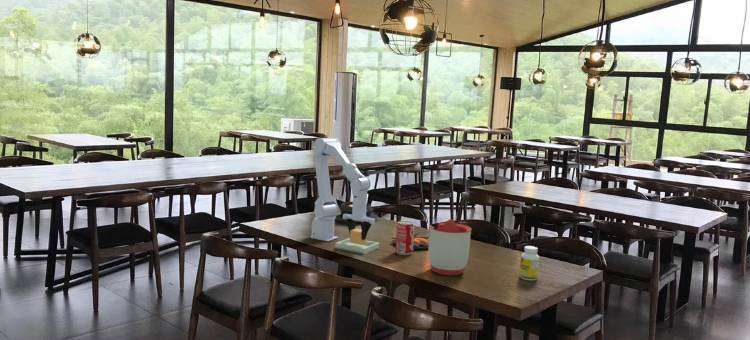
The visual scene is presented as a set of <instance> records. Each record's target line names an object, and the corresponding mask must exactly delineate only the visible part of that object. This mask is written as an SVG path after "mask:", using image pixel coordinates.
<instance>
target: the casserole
mask: <svg viewBox="0 0 750 340" xmlns="http://www.w3.org/2000/svg"><path fill="white" fill-rule="evenodd" d="M338 207H339V211H340V214H339V213H338V215H337V216H336V218H335V221H338V222H344V223H346V221H347V219H343V214H352V208H353V201H347V202H342V203H341V205H340V206H338ZM373 211H374V208H373V207H372V204H370V203H367V204H366V217H370V218H373V219H375V220H376V219H379V216H378V214H374V213H372V212H373ZM361 223H364V222H360V221H357V222H356V224H361Z"/></svg>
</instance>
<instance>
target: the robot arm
mask: <svg viewBox="0 0 750 340" xmlns="http://www.w3.org/2000/svg"><path fill="white" fill-rule="evenodd" d="M341 146H342V143H341V142H340V141H339V139H338V138H337V137H334V136H333V137H318V138H317V139H315V141H314V143H313V146H312V147H313V152H314V157H313V159H314V165H315V172H316V173H315V174H316V183H317V190H318V191H317V192H318V198H317V199H316V200H315V201H314V211H313V212H314V215H315V217H314V218H313V219H312V221H311V236H310V239H315V240H319V241H325V242H330V241H333V240H336V239H338V238H339V237H338V236H335V221H336V220H335V218H336V216H337V215H339V213H340V209H339V207H340V206H339V205H338V203H337V199H336V198H335V197H334V196H333V194H332V188H331V179H330V172H329V170H330V169H329V164H328V160H329V159H330V157H331V156H333V157H334V158H335V159H336V161H337V162H338V163H339V164H340V166H342V172H343V174H344V175H345V177H346V178H347V180H348V181H349V182H350V183H349V185H350V190H351V194H352V202H353V208H352V214H343V219H347V221H346V222H345V225H346V226H347V229H348V232H349V234H350V230H353V229H356V224H357V223H356V222H357V221H360V222H364V223H360V229H362V240H365V239H366V236H368V232H369V230H370V228H371V226H372V225H375V224H376V218H375V219H373V218H370V217H366V204H367V201H368V191H369V190H370V188H371V180H370V178H369V177H368V176H365V175H363V174H362V173H361V171H360V170H359V168H358V167H357V165H356V164H355V163H352V162H351V161H350V160H349V158H348V157H347V155H346V154H345V151H343V150H342V147H341Z"/></svg>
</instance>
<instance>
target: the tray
mask: <svg viewBox="0 0 750 340" xmlns="http://www.w3.org/2000/svg"><path fill="white" fill-rule="evenodd" d="M334 246H335V247H334V248H335V249H337V250H338V249H339V250H344V251H348V252H353V253H356V254H361V255H366V254H368V253H371V252H373V251H376V250H378V249H380V242H375V241H372V240H367V241H366V242H365V243H362V244H357V243H352V242H350V237H348V238H345V239H342V240H339V241H337V242H335V245H334Z"/></svg>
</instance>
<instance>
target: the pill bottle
mask: <svg viewBox="0 0 750 340" xmlns="http://www.w3.org/2000/svg"><path fill="white" fill-rule="evenodd" d="M538 249H539V248H538V247H537V246H536V247H535V246H534V245H533V246H532V245H526V246H524V249H523V250H524V252H523V253H522V254H521V255H520V264H519V265H520V268H519V277H520V278H521V279H523V280H525V281H536V280H537V279H538V275H539V267H540V266H539V265H540V256H539V255H538V251H539V250H538Z"/></svg>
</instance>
